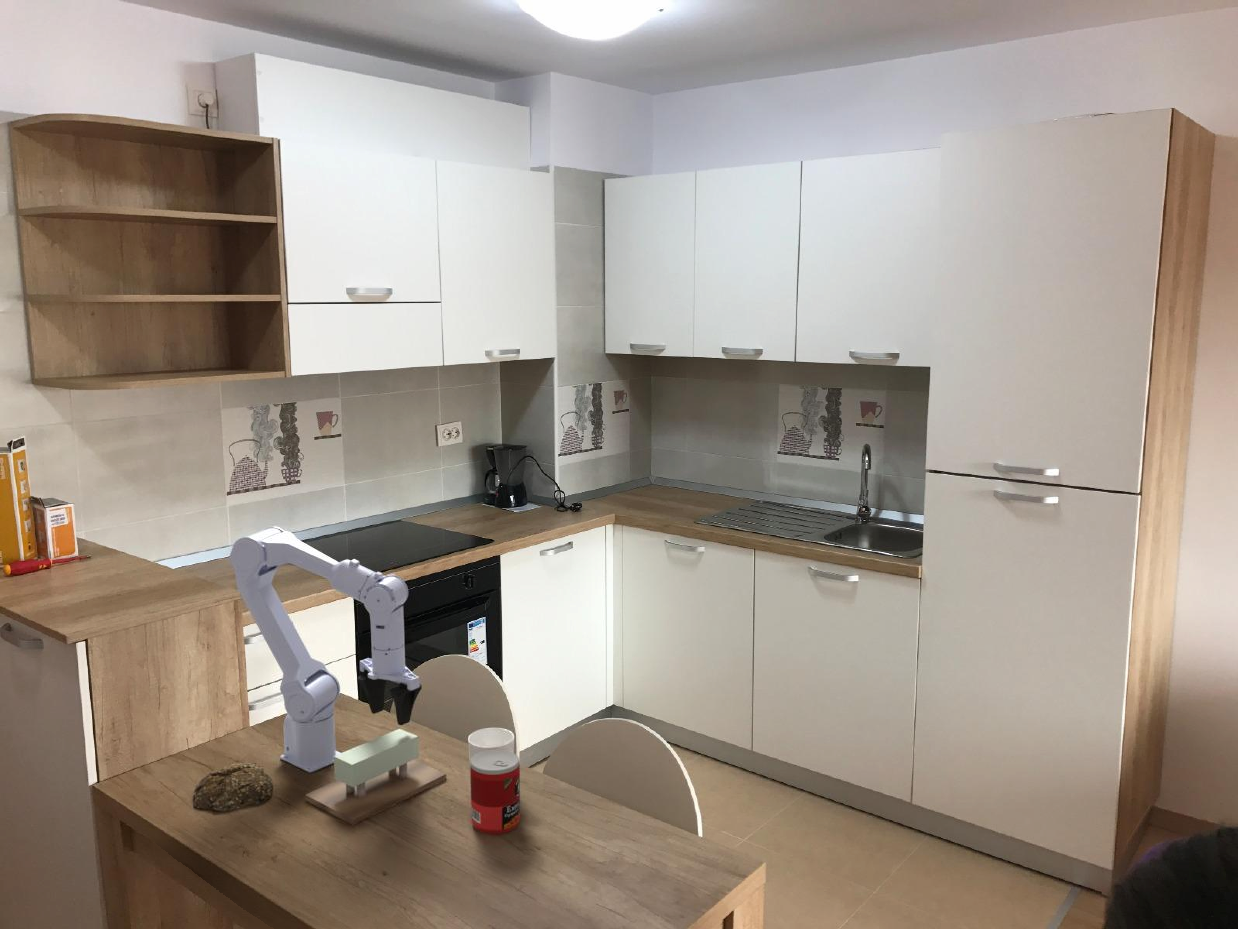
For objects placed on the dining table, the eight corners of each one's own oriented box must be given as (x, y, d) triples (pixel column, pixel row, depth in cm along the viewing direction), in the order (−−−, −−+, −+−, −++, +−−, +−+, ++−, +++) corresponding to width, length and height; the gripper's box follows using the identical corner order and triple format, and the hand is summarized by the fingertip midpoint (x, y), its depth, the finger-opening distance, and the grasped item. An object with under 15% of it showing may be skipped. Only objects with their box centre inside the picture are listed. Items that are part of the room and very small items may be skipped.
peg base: (305, 800, 168) (304, 778, 167) (398, 758, 183) (398, 738, 182) (353, 825, 160) (352, 802, 159) (446, 779, 175) (445, 758, 174)
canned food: (512, 838, 156) (511, 773, 154) (464, 832, 158) (462, 768, 156) (526, 813, 163) (525, 751, 162) (480, 808, 165) (479, 747, 163)
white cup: (492, 807, 165) (491, 751, 164) (459, 793, 170) (458, 739, 168) (524, 789, 172) (523, 735, 170) (491, 776, 176) (490, 723, 175)
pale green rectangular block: (400, 749, 178) (399, 728, 177) (418, 757, 175) (417, 736, 174) (334, 778, 167) (333, 756, 166) (353, 787, 164) (352, 764, 163)
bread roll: (263, 771, 178) (261, 746, 178) (279, 800, 168) (278, 773, 167) (186, 789, 172) (185, 763, 171) (199, 821, 161) (197, 792, 160)
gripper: (344, 642, 177) (347, 713, 179) (395, 660, 167) (398, 736, 170) (376, 632, 182) (379, 701, 184) (428, 649, 173) (430, 723, 175)
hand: (390, 717), depth 177 cm, fingers open, 7 cm apart
